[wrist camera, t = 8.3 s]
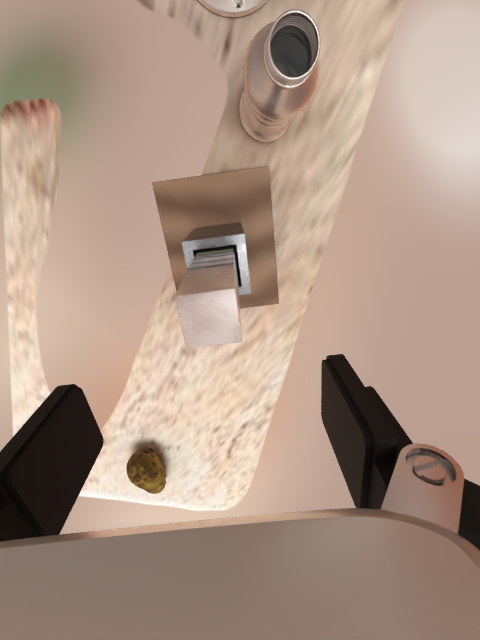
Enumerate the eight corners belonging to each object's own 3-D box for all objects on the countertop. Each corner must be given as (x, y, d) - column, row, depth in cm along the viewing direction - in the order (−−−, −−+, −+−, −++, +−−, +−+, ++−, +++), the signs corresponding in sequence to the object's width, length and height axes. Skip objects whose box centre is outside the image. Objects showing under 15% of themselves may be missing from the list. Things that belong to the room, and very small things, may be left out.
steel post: (200, 243, 36) (172, 295, 19) (233, 239, 36) (236, 286, 19) (206, 275, 38) (185, 350, 21) (237, 271, 38) (243, 343, 20)
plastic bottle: (254, 155, 39) (274, 126, 21) (229, 102, 37) (227, 18, 19) (296, 127, 38) (356, 72, 20) (273, 71, 36) (318, -51, 17)
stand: (154, 182, 40) (121, 180, 28) (267, 167, 40) (283, 157, 28) (183, 312, 49) (167, 353, 36) (277, 300, 48) (293, 338, 36)
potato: (129, 474, 65) (116, 510, 58) (136, 433, 60) (123, 466, 53) (166, 479, 66) (158, 515, 59) (175, 439, 61) (168, 473, 54)
